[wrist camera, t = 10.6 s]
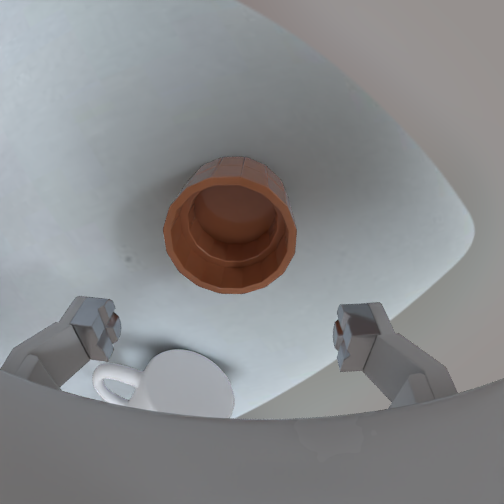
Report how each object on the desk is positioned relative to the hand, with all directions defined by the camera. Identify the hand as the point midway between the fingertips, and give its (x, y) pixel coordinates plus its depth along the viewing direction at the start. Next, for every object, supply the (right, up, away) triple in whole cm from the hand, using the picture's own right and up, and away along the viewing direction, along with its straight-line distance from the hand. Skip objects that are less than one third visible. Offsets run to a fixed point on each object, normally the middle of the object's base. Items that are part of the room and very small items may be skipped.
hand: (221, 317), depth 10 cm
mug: (-8, -9, +17) cm, 21 cm away
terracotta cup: (0, +5, +8) cm, 9 cm away
